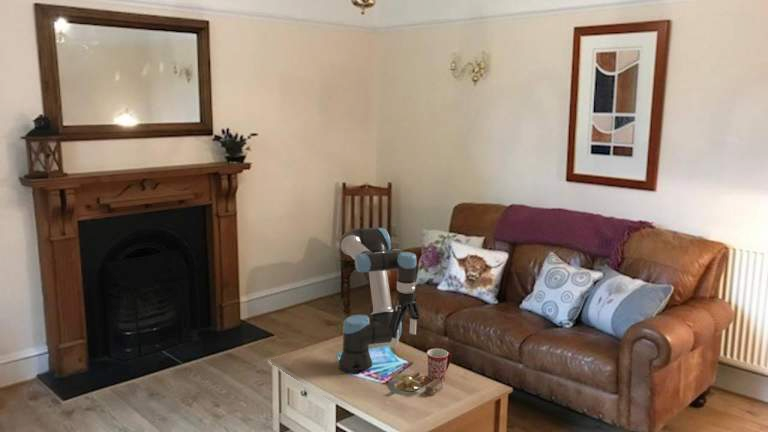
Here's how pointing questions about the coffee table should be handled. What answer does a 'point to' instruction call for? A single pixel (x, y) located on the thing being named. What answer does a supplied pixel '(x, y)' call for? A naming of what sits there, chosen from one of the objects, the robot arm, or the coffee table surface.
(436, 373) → the mug
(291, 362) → the coffee table surface
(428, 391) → the brown angular block
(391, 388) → the stand plate
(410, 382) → the cam capstan
